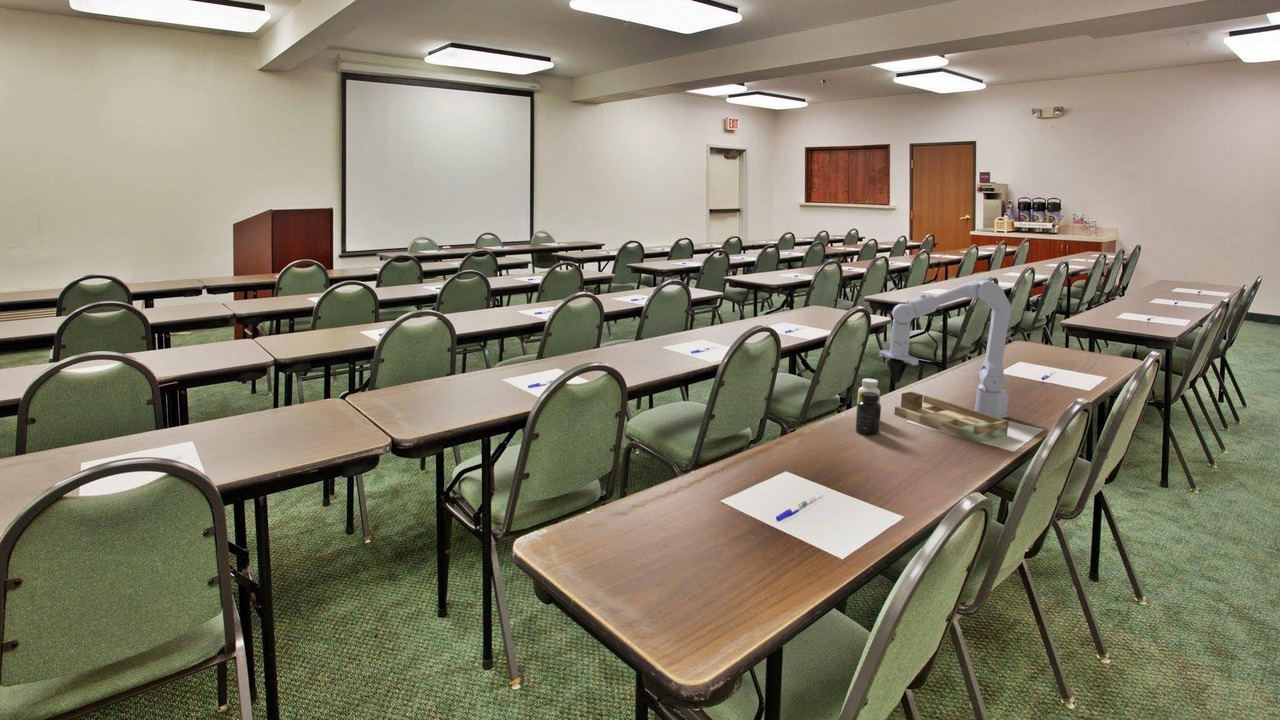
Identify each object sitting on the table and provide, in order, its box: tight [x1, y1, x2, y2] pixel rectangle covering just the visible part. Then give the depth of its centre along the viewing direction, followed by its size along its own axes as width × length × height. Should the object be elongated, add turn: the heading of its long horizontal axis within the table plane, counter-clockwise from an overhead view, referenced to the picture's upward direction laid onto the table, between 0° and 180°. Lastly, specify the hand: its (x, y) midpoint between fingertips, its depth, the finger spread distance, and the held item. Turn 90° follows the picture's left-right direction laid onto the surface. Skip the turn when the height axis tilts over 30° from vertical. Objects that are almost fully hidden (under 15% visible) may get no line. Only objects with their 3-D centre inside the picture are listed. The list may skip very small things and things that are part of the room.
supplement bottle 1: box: [856, 378, 881, 414], centre depth 222 cm, size 7×7×13 cm
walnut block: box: [900, 391, 924, 410], centre depth 227 cm, size 4×4×4 cm
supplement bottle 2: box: [855, 392, 882, 436], centre depth 211 cm, size 7×7×12 cm
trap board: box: [893, 395, 1010, 444], centre depth 219 cm, size 14×30×4 cm, turn 28°
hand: (896, 381), depth 232 cm, fingers closed
